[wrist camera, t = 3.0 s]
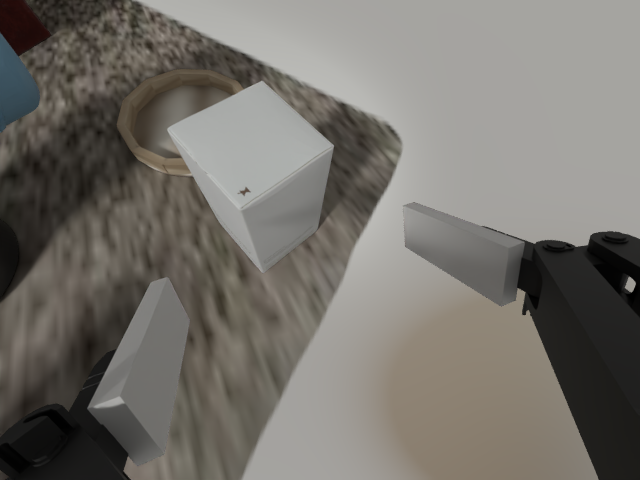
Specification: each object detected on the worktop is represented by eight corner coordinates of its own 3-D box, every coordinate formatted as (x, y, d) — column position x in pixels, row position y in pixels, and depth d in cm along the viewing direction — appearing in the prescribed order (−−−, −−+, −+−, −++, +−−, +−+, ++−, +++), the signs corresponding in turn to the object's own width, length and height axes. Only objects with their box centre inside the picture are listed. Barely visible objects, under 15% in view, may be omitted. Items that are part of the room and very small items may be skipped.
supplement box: (320, 229, 33) (339, 145, 20) (262, 275, 31) (238, 213, 17) (274, 182, 35) (263, 75, 22) (216, 220, 33) (161, 125, 19)
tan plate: (118, 178, 33) (106, 166, 31) (139, 83, 40) (130, 67, 38) (256, 175, 36) (254, 163, 33) (255, 85, 42) (253, 70, 40)
